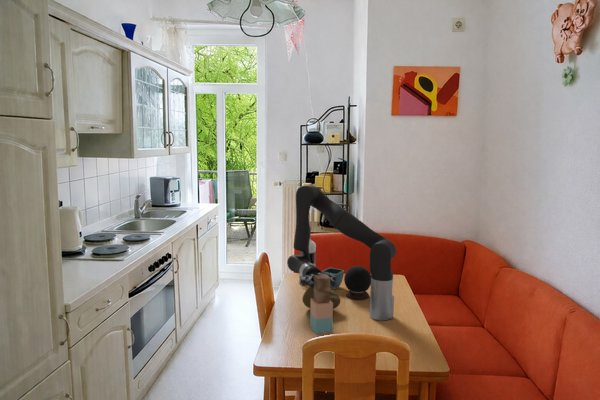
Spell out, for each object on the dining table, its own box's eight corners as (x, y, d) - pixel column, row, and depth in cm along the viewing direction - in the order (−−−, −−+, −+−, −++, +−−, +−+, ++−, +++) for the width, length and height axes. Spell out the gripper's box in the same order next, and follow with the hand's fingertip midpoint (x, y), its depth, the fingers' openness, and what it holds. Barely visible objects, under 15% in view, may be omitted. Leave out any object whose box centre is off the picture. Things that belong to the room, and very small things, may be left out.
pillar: (325, 298, 180) (325, 274, 179) (329, 302, 175) (330, 277, 174) (313, 299, 179) (313, 275, 177) (317, 303, 174) (318, 278, 172)
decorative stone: (341, 307, 202) (341, 285, 201) (339, 316, 192) (339, 294, 190) (304, 304, 206) (305, 283, 204) (300, 313, 195) (300, 291, 193)
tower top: (326, 311, 182) (326, 296, 181) (332, 317, 175) (333, 303, 175) (310, 312, 180) (310, 298, 179) (315, 319, 174) (316, 304, 173)
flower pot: (344, 286, 230) (344, 270, 229) (336, 291, 223) (336, 274, 222) (329, 283, 235) (329, 267, 234) (320, 288, 227) (321, 271, 226)
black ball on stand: (363, 303, 208) (364, 271, 206) (338, 297, 215) (339, 267, 213) (375, 295, 219) (376, 265, 216) (351, 289, 226) (352, 261, 224)
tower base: (326, 325, 183) (326, 311, 182) (332, 332, 176) (332, 317, 176) (310, 326, 181) (310, 312, 180) (315, 334, 174) (315, 319, 173)
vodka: (316, 285, 232) (317, 228, 228) (299, 285, 232) (299, 228, 227) (315, 279, 241) (316, 225, 237) (298, 279, 241) (298, 225, 237)
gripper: (294, 265, 187) (306, 277, 172) (326, 263, 191) (340, 274, 176) (294, 283, 188) (306, 296, 173) (325, 280, 192) (340, 292, 177)
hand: (323, 285), depth 174 cm, fingers open, 8 cm apart
